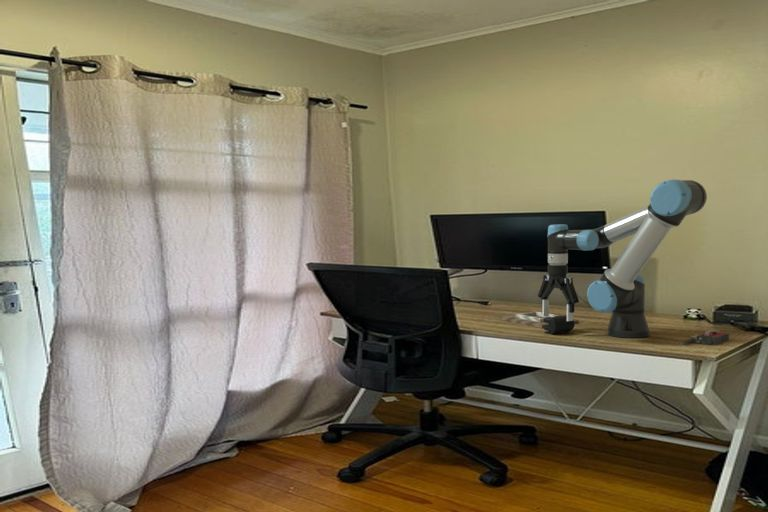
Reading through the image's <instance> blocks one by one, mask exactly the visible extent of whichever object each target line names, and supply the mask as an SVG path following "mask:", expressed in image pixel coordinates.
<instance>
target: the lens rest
mask: <svg viewBox="0 0 768 512" xmlns="http://www.w3.org/2000/svg"><path fill="white" fill-rule="evenodd" d="M555 316H559V314H553V313H549V316H543V311H542V312H541V311H531V312H522V313H515V314H511V315H503V316H499V320H500V321H506V322H510V323H514V324H515V323H516V324H521V325H524V326H530V327H535V328H540V329H544V326H549V324H548V323H544V318H546V317H555ZM573 319H574V318H573ZM574 323H575V324H579V323H580V321H579V319H574Z"/></svg>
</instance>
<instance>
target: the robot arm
mask: <svg viewBox="0 0 768 512" xmlns="http://www.w3.org/2000/svg"><path fill="white" fill-rule="evenodd" d="M649 198H650V199H649V200H650V203H649V205H647V206H644V207H642V208H640V209H638V210H635V211H633V212H631V213H629V214H626V215H624V216H622V217H619V218H617V219H615V220H613V221H611V222H609V223H606V224H604V225H601V226H600V227H597V228H592V229H591V228H590V229H572V230H571V229H569V226H568V224H561V223H560V224H557V223H556V224H550V225H548V226H547V236H546V237H547V263H548V264H547V274H545V275H543V276H542V283H541V286H540V289H539V292H538V294H537V297H538V298H540V300H541V307H542V313H543V316H549V314H550V299H549V297H550V295H551V294H552V292H553V291H554V289H558V290H560V291H561V293H562V294H563V296H564V298H565V300H566V302H567V304H566V315H567V321H573V319H574V313H575V305H576V304H577V303H579V302H580V300H579V297H578V293H577V292H576V289H575V286H574V280H573V277H567V274H568V272H569V271H568V269H569V268H568V267H569V266H568V263H569V262H568V261H569V253H568V252H569V250H573V251H574V250H577V251H584V252H586V251H594V250H595V249H605V248H608V247H610V246H611V245H612V244H614V243H617V242H618V241H621V240H623V239H626V238H627V237H630V236H632V235H633V237H632V238H631V240H629V243H628V244H627V245H626V247H625V249H624V250H623V251H622V252H621V254H620V256H619V257H618V258H617V260H616V262H615V263H614V264H613V266H612V268H608V269H605V270H604V272H603V273H602V275H600V277H599V279H598V280H594V281H593V282H592V283H591V284H589V286H588V288H587V290H586V291H587V292H586V297H587V300H588V303H589V305H590V306H591V308H592V309H594V310H595V311H597V312H600V313H611V315H610V319H609V323H608V326H607V327H606V333H607V335H608V336H610V337H616V338H624V339H630V338H631V339H637V338H638V339H640V338H647V337H649V336H650V334H651V329H650V326H649V325H648V321H647V319H646V315H645V314H646V313H645V309H646V307H645V301H646V299H645V296H646V295H645V293H646V292H645V288H646V287H645V286H646V283H645V277H644V276H643V275H641V274H640V273H641V271H642V270H644V269H643V268H644V267H645V266H646V265H647V263H648V261H649V260H650V259H651V257H652V256H653V255H654V253H655V251H656V250H657V249H658V247H659V246H660V245H661V243H662V242H663V240H664V239H665V238H666V236H667V234H668V233H669V232H670V230H671V229H672V228H675V227H676V228H678V227H679V226H680V224H681V223H682V222H683V220H684V219H685V218H686V216H687V217H688V216H690V215H693V214H696V213H698V212H700V211H701V210H702V209H703V208H704V207H705V204H706V203H707V198H708V194H707V191H706V189H705V187H704V186H703V185H702V184H700V182H698V181H695V180H691V179H689V180H688V179H685V180H684V179H668V180H664V181H662V182H660V183H658V184H657V185H656V186H655V187H654V189H652V191H651V194H650V197H649Z"/></svg>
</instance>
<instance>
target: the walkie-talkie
mask: <svg viewBox="0 0 768 512" xmlns="http://www.w3.org/2000/svg"><path fill="white" fill-rule="evenodd" d="M729 338H730V333H728V332H725V331H720V329H718V330H717V329H709V330H708V329H707V330H705V331H704V332H703V333H702V334H694V335H691V336H690V338H689V339H686V340H682V341H681V344H683V345H685V344H688V343H695V344H703V345H710V346H711V345H712V346H717V345H720V344H722V343H726V342H729V341H730V339H729Z"/></svg>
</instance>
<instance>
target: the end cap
mask: <svg viewBox="0 0 768 512" xmlns="http://www.w3.org/2000/svg"><path fill="white" fill-rule="evenodd" d="M558 315H559V314H558ZM544 323H548V324H549V326H544V328H543V330H544V334H546V335H557V334H565V333H570V332H571V331H572V330H573V329H574V328H575V324H576V323H574V318H573V321H567V314H566V315H559V316H555V317H546V318H544Z"/></svg>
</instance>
